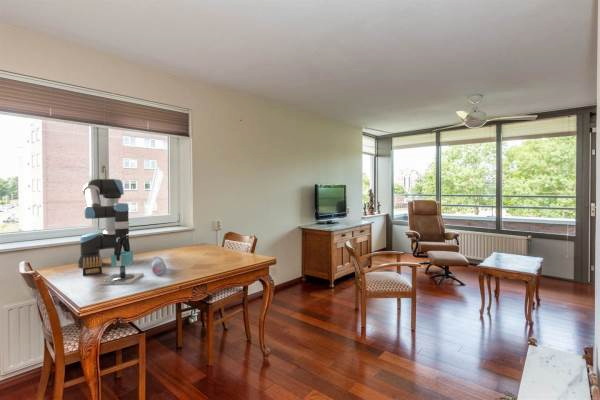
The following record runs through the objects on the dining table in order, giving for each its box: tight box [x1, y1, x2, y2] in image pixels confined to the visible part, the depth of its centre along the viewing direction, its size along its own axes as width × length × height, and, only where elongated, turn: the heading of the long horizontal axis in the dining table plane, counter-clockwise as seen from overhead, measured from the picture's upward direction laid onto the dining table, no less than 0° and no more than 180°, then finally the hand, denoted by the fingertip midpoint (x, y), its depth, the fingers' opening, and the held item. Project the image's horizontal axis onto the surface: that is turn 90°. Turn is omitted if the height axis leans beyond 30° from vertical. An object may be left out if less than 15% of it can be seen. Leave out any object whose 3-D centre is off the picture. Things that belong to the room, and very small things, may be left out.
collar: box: [110, 250, 134, 267], centre depth 193 cm, size 9×9×7 cm
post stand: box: [99, 266, 144, 286], centre depth 193 cm, size 18×18×10 cm
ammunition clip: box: [82, 255, 103, 277], centre depth 204 cm, size 11×2×12 cm, turn 123°
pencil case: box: [149, 256, 167, 276], centre depth 211 cm, size 21×9×10 cm, turn 29°
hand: (122, 263), depth 193 cm, fingers closed on collar, 9 cm apart
